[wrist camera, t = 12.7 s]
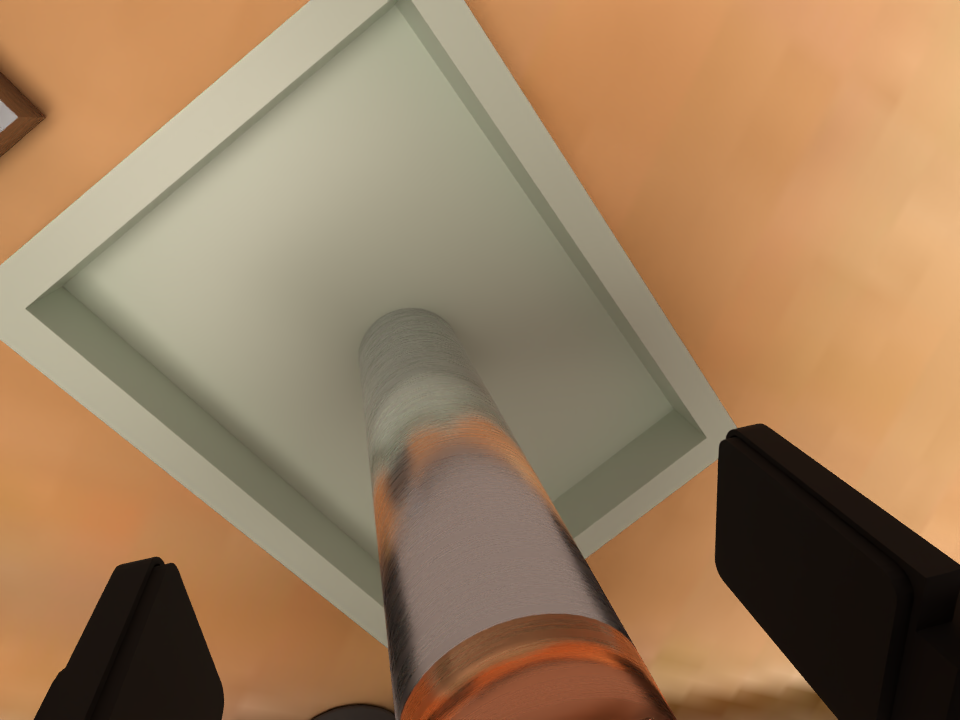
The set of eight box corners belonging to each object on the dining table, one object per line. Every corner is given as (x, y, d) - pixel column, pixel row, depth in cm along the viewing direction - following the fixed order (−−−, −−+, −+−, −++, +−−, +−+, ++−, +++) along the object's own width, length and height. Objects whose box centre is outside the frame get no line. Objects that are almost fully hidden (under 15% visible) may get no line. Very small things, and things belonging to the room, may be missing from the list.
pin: (453, 299, 19) (697, 665, 6) (466, 392, 20) (693, 859, 8) (348, 318, 19) (383, 756, 6) (369, 412, 20) (433, 949, 7)
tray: (699, 403, 23) (743, 439, 21) (416, 619, 24) (426, 679, 22) (398, -53, 16) (409, -85, 14) (12, 276, 17) (-46, 303, 14)
